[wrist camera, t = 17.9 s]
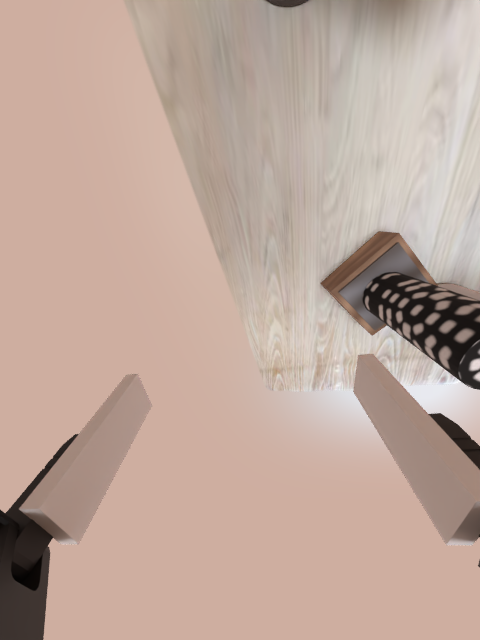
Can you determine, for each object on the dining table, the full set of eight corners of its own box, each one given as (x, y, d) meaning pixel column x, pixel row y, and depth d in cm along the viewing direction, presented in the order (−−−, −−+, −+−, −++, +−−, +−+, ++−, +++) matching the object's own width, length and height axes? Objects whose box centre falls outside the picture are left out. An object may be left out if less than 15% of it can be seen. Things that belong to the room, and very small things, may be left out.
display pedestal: (320, 283, 45) (331, 292, 39) (378, 231, 40) (401, 233, 34) (358, 322, 48) (373, 336, 42) (416, 279, 43) (441, 288, 37)
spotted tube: (384, 263, 36) (519, 306, 18) (420, 284, 37) (578, 344, 19) (352, 302, 39) (439, 371, 21) (386, 320, 41) (495, 400, 23)
